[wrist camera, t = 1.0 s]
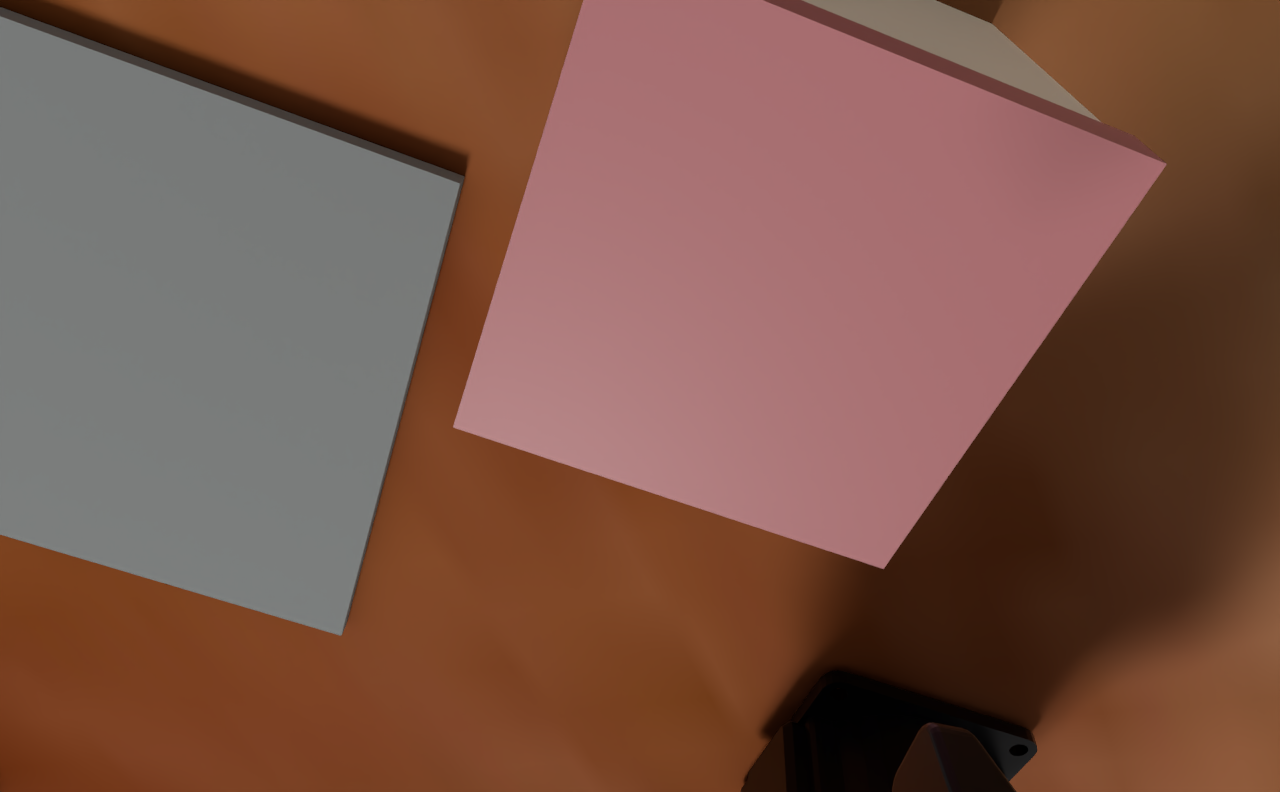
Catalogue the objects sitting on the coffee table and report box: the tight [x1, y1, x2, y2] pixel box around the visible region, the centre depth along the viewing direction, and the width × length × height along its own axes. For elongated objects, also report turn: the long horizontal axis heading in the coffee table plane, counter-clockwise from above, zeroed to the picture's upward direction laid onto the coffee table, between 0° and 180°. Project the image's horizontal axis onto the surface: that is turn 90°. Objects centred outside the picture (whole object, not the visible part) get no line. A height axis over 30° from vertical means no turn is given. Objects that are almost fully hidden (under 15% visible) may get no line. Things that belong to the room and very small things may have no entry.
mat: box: [0, 7, 465, 636], centre depth 22 cm, size 14×14×1 cm
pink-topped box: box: [453, 0, 1167, 569], centre depth 15 cm, size 7×7×8 cm
